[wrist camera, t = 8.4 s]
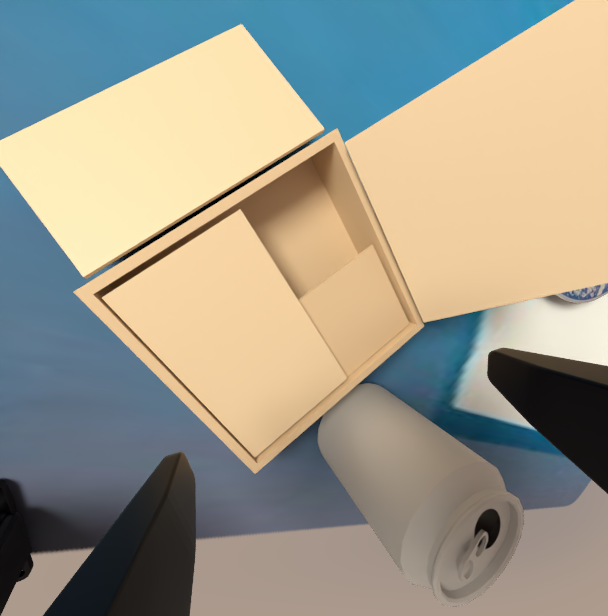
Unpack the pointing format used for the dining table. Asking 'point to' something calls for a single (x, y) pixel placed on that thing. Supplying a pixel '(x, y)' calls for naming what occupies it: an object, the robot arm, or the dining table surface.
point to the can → (422, 493)
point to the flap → (500, 171)
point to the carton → (221, 239)
